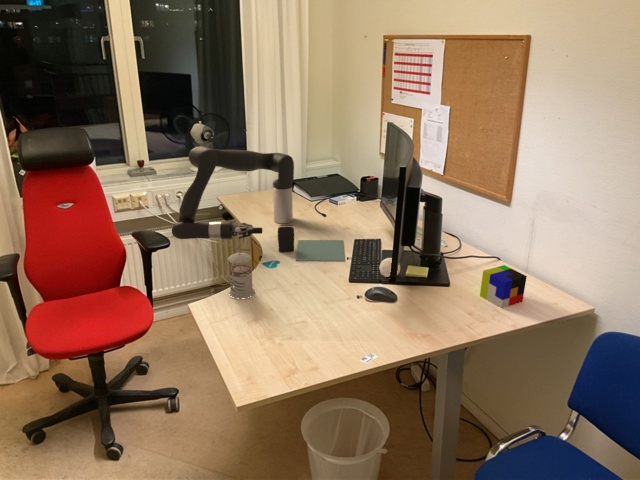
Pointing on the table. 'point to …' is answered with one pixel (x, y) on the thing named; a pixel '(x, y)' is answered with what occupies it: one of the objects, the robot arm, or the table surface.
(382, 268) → the geometric ball
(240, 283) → the french press
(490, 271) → the puzzle toy
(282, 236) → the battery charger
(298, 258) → the mat
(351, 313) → the table surface
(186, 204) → the robot arm
